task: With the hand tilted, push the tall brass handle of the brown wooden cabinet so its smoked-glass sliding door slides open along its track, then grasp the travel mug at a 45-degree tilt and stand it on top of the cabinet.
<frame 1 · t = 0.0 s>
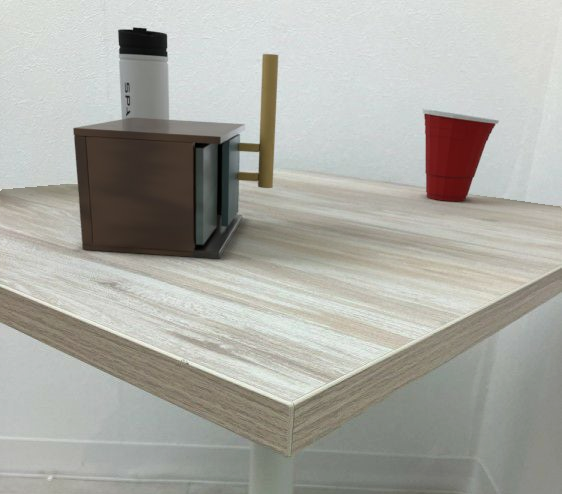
brown wooden cabinet: (161, 232, 65), on the table
plastic cup: (447, 199, 96), on the table
glass door: (250, 140, 65), point 9 cm above the table, slide at 0.0 cm
travel mug: (147, 189, 91), on the table
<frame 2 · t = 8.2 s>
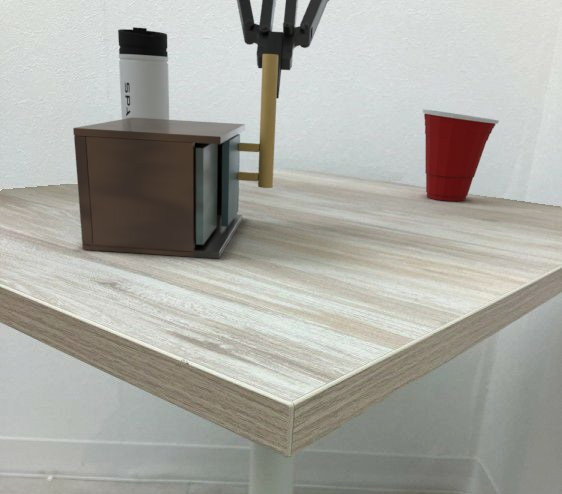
hand: (271, 88, 68), 14 cm above the table, tool tilted 45°, fingers closed
glass door: (250, 140, 65), point 9 cm above the table, slide at 0.0 cm, touching gripper
everything else where it was.
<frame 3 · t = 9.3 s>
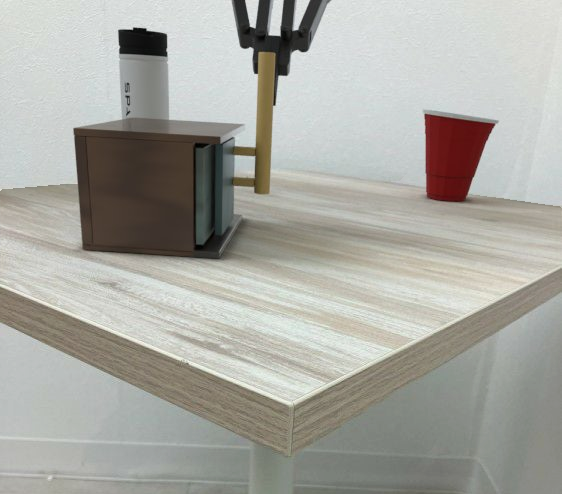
hand: (268, 95, 64), 13 cm above the table, tool tilted 45°, fingers closed
glass door: (245, 143, 61), point 9 cm above the table, slide at 4.3 cm, touching gripper
everything else where it was.
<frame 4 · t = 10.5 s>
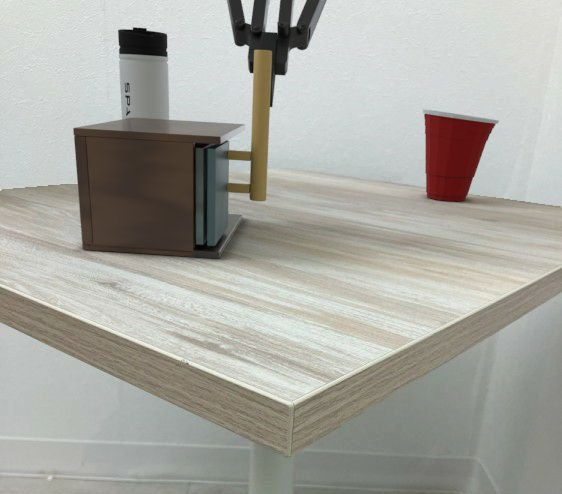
hand: (264, 96, 61), 13 cm above the table, tool tilted 45°, fingers closed
glass door: (240, 147, 58), point 9 cm above the table, slide at 8.6 cm, touching gripper
everything else where it was.
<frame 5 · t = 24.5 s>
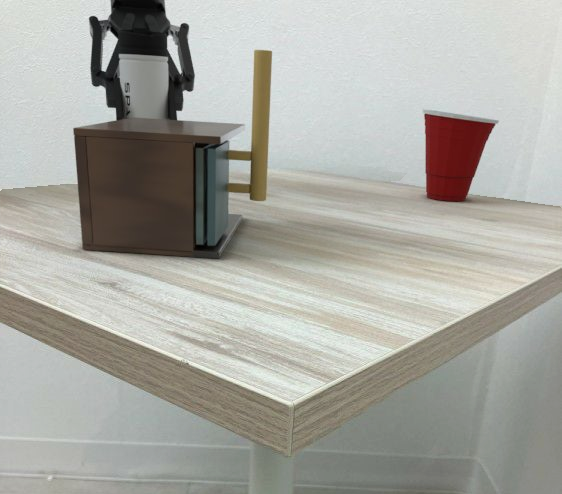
hand: (147, 125, 84), 8 cm above the table, tool tilted 45°, fingers closed on travel mug, 6 cm apart
glass door: (240, 147, 58), point 9 cm above the table, slide at 8.5 cm
travel mug: (147, 189, 91), on the table, touching gripper
everything else where it was.
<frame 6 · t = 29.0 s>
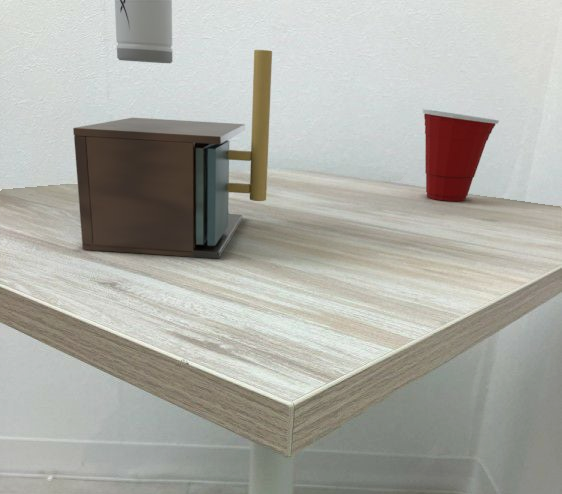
travel mug: (144, 63, 75), point 16 cm above the table, touching gripper
everything else where it was.
when the fingers open (19 cm above the table, at t = 33.5 s): travel mug stays where it is, resting on brown wooden cabinet.
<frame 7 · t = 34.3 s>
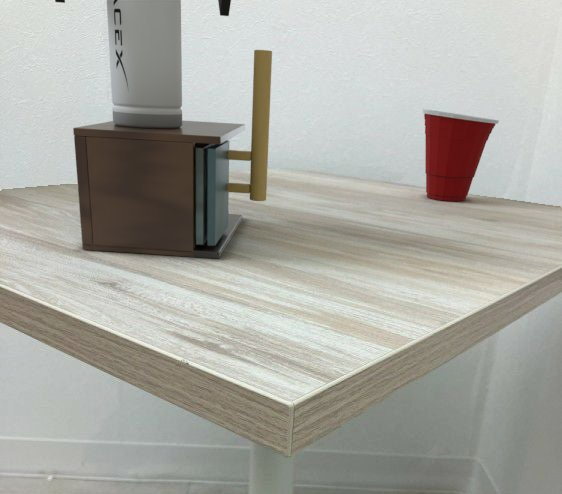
travel mug: (147, 128, 60), point 10 cm above the table, touching brown wooden cabinet
everything else where it was.
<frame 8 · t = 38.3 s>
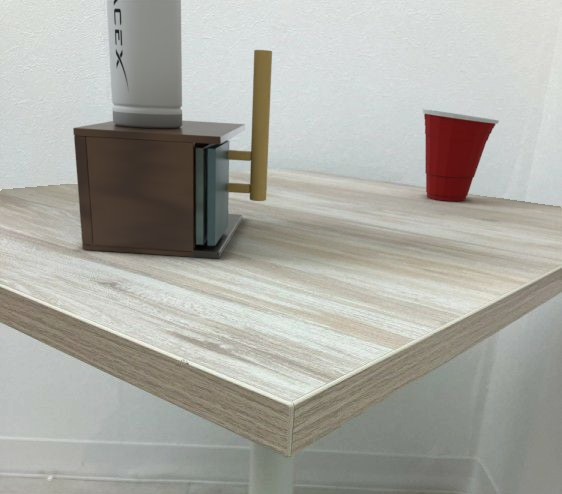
nothing on the table moved.
at the end: glass door slide at 8.5 cm; travel mug inside the target area on the brown wooden cabinet (2.0 cm from its centre), point 10.0 cm above the brown wooden cabinet's base; travel mug tilted 0° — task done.
